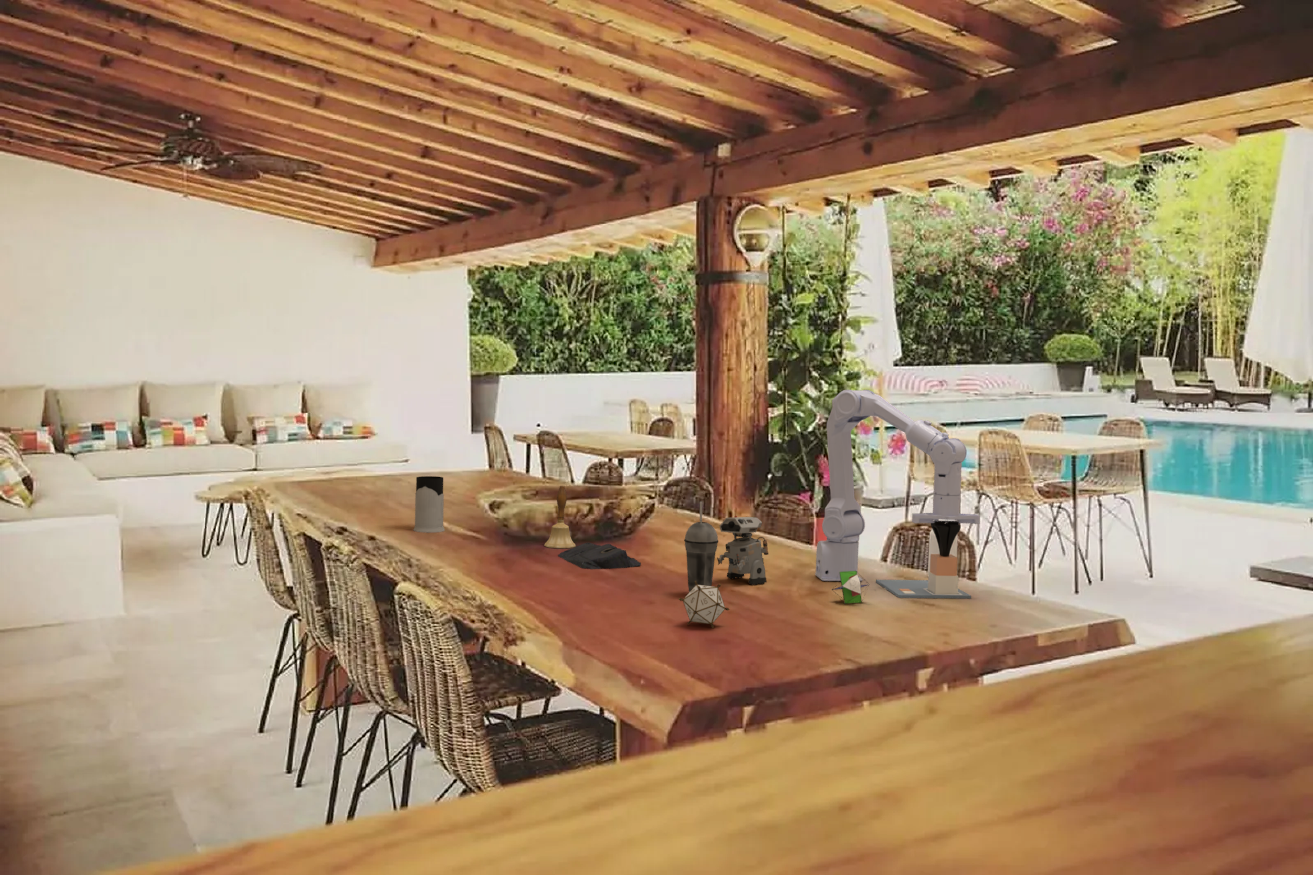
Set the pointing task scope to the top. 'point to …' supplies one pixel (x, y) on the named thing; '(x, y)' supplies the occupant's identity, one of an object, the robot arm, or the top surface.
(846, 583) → the geometric puzzle
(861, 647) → the top surface
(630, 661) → the top surface
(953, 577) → the base block
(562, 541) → the hand bell
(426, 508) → the glass holder
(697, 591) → the game die
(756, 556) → the figurine
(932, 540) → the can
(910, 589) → the board
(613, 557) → the dark slate chunk
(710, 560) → the beverage cup
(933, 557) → the terracotta block
